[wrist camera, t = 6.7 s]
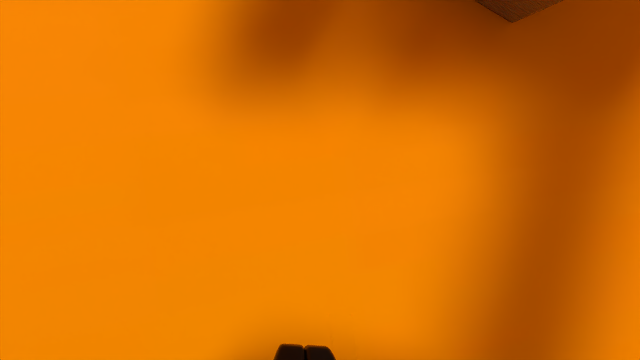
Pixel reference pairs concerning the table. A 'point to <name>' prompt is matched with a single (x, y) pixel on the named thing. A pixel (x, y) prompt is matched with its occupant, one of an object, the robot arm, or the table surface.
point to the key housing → (516, 7)
